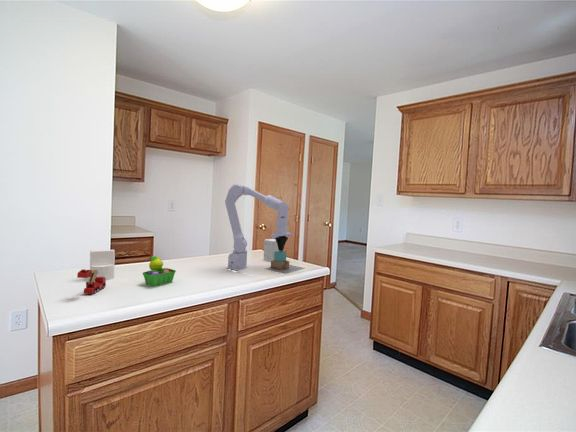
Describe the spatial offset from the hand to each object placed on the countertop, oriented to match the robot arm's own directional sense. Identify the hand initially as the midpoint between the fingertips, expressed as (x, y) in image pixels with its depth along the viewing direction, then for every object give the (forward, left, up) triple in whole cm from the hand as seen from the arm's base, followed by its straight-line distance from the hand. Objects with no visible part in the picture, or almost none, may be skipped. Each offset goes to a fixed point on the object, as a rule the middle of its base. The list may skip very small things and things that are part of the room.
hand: (280, 250), depth 161 cm
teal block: (0, 0, -6) cm, 6 cm away
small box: (+12, +16, -11) cm, 23 cm away
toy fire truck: (-80, +25, -11) cm, 84 cm away
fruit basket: (-57, +20, -11) cm, 61 cm away
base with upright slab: (-70, +42, -11) cm, 82 cm away
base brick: (0, 0, -10) cm, 10 cm away
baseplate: (+2, -2, -10) cm, 11 cm away
